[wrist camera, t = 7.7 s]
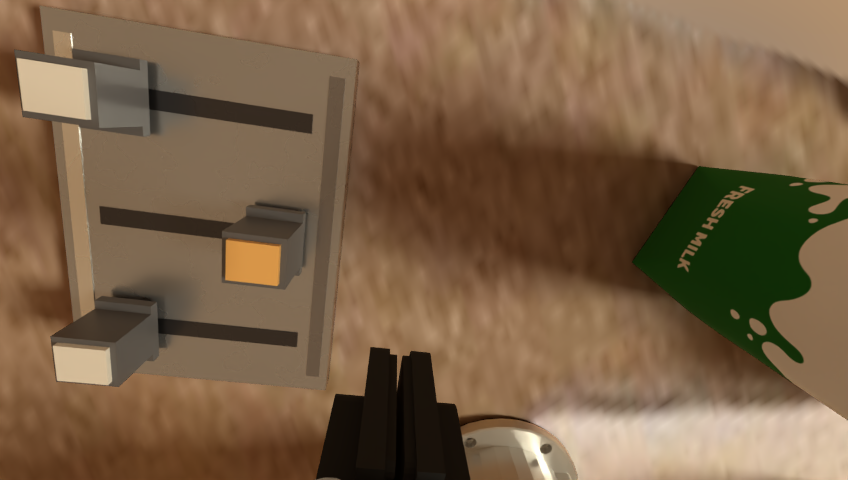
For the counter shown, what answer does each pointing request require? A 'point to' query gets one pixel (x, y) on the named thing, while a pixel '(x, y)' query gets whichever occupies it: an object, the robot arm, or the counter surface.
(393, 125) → the counter surface
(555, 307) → the counter surface
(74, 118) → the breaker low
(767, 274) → the milk carton
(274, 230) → the block
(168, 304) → the panel
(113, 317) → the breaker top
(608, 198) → the counter surface
